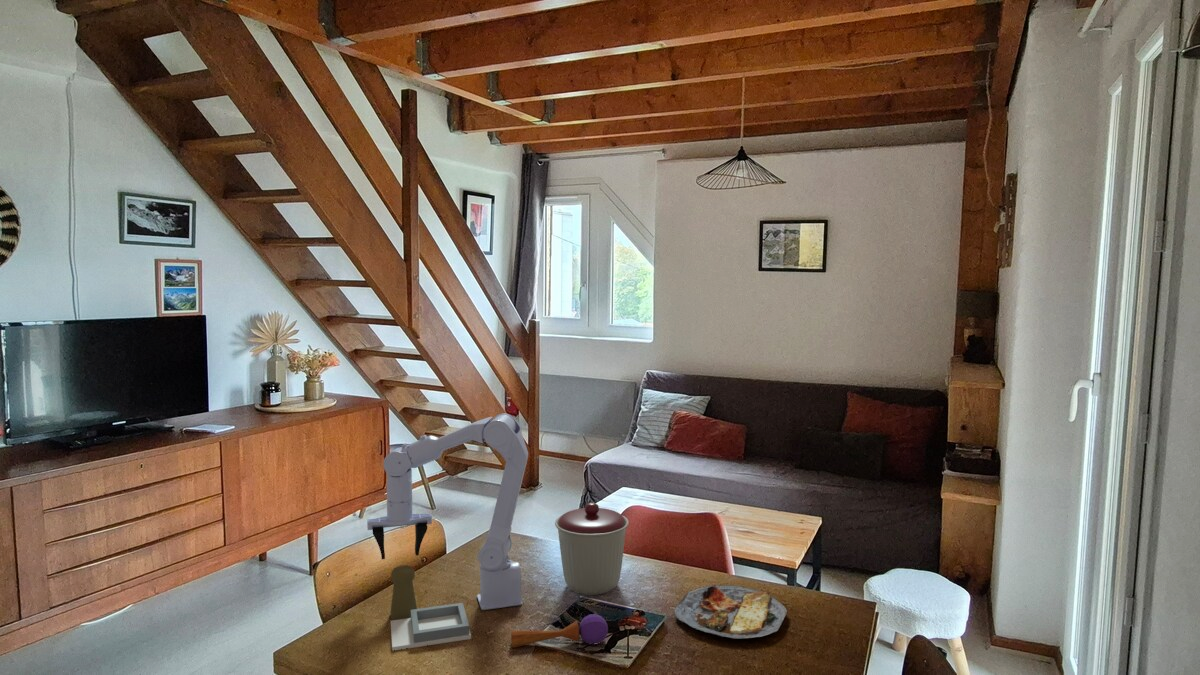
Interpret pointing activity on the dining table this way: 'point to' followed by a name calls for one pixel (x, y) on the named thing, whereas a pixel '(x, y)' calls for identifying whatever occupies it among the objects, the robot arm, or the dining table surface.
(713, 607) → the food plate
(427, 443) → the robot arm
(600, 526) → the canister
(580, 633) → the kendama
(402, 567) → the olive knobbed tapered peg
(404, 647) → the socket board
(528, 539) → the dining table surface
